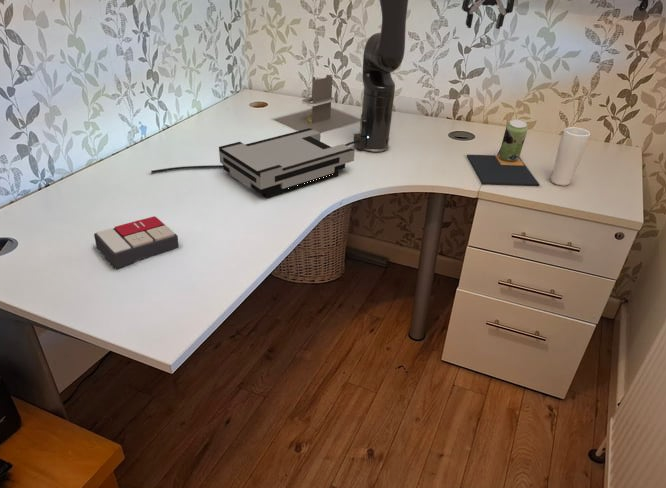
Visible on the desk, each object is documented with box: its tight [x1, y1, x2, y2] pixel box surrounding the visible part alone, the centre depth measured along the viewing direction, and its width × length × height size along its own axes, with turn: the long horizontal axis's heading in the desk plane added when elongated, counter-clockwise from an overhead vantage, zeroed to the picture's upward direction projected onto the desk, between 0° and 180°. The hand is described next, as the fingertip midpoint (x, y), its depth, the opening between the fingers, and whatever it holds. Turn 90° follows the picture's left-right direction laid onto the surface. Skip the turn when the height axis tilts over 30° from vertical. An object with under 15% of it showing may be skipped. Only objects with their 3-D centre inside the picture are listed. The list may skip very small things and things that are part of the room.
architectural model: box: [273, 74, 361, 134], centre depth 185 cm, size 20×25×15 cm
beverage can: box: [498, 118, 529, 161], centre depth 159 cm, size 6×7×12 cm
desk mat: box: [466, 154, 540, 187], centre depth 158 cm, size 16×20×1 cm
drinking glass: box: [550, 126, 591, 187], centre depth 147 cm, size 7×7×15 cm
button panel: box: [93, 215, 179, 269], centre depth 118 cm, size 11×4×15 cm
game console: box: [218, 128, 356, 200], centre depth 150 cm, size 21×32×8 cm, turn 127°
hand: (483, 28), depth 157 cm, fingers open, 8 cm apart
